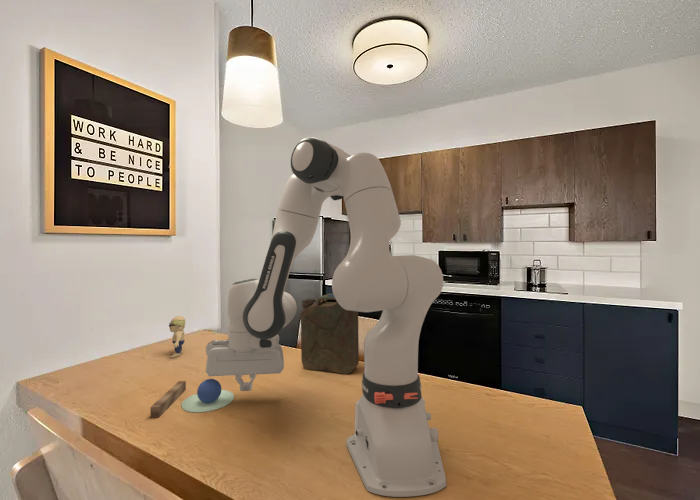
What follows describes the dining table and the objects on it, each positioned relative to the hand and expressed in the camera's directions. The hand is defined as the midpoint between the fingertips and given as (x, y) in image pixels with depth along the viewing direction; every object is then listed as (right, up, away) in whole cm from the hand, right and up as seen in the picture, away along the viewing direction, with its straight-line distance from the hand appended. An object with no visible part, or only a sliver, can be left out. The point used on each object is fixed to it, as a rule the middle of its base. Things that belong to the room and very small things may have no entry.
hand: (246, 390), depth 92 cm
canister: (+21, -2, +23) cm, 31 cm away
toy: (-38, -3, +38) cm, 54 cm away
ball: (-9, 0, -2) cm, 9 cm away
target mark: (-10, -3, -1) cm, 10 cm away
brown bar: (-20, -3, -2) cm, 20 cm away
